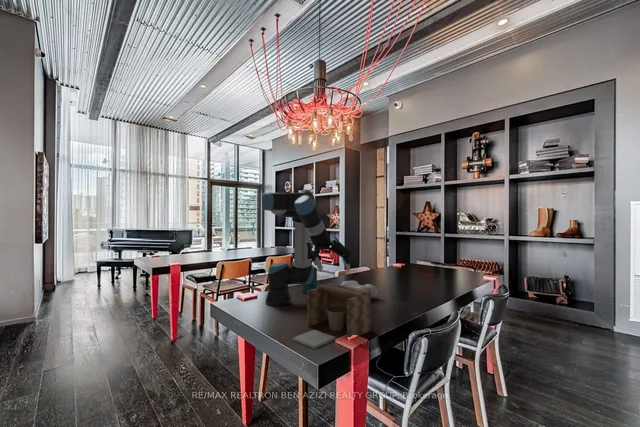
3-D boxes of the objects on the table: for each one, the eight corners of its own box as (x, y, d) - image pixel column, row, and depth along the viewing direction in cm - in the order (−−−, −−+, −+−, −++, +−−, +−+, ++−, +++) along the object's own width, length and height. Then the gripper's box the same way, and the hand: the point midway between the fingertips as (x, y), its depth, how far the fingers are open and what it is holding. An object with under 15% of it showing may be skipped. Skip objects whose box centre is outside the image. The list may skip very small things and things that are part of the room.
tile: (314, 348, 106) (314, 346, 106) (293, 340, 115) (293, 337, 115) (335, 339, 115) (335, 336, 115) (314, 331, 123) (314, 329, 123)
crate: (349, 340, 114) (348, 297, 115) (307, 325, 131) (307, 288, 131) (370, 330, 125) (370, 290, 125) (329, 317, 142) (329, 283, 142)
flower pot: (347, 325, 131) (347, 306, 132) (347, 333, 122) (347, 312, 122) (326, 324, 132) (326, 305, 132) (325, 332, 123) (325, 312, 123)
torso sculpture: (380, 302, 177) (352, 288, 203) (381, 285, 176) (353, 273, 202) (359, 306, 169) (333, 290, 195) (360, 288, 169) (334, 275, 195)
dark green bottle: (318, 291, 197) (318, 259, 198) (309, 294, 191) (309, 261, 192) (308, 289, 204) (308, 258, 205) (299, 291, 197) (299, 260, 198)
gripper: (288, 239, 120) (307, 275, 129) (341, 234, 107) (359, 274, 117) (295, 228, 125) (313, 264, 135) (347, 222, 113) (363, 262, 122)
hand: (334, 269), depth 126 cm, fingers open, 13 cm apart
